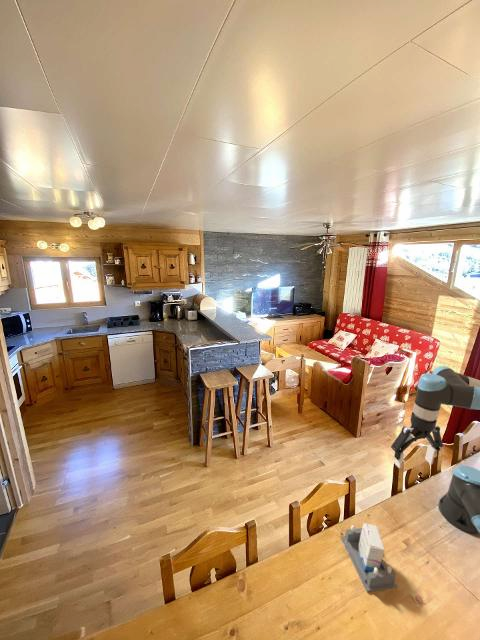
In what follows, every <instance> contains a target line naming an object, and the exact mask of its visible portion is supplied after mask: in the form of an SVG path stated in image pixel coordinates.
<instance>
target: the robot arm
mask: <svg viewBox="0 0 480 640" xmlns="http://www.w3.org/2000/svg"><path fill="white" fill-rule="evenodd" d="M442 405H443V406H444V405H446V406H452V407H458V408H463V409H467V410H468V409H469V410H476V411H477V410H480V380H479V379H477V378H474V377H471V376H467V375H465V374H462V373H459V372H456V371H455V370H454V369H452V368H450V367H449V366H444V365H440V366H437V367H436V368H435V369H433V370H432V372H431V373H429V372H428V373H427V372H425V373H423V374H421V375H420V376H419V380H418V383H417V388H416V393H415V398H414V403H413V407H412V412H411V415H410V422H411V425H410V427H407V426H405V425H403V426H402V429H401V431H400V433H399V434H398V436H397V437H396V438H395V440H394V441H393V443H392V444H391V446H390V448H391V449H392V450H393V451H394V455H393V456H394V461H393V464H394V465H395V466H396V467H397V468H398V469H402V465H403V461H404V455H405V453H404V452H405V450H407V449H408V448H409V447H410V446H411V445H412V444H413V443H414V442H417V441H418V440H421V439H425V440H427V442H428V443H429V444H428V445H427V449H426V454H425V457H424V460H425V461H426V462H427V463H428V464H430V465H433V463H434V461H435V460H434V459H435V457H436V454H437V452H440V451H441V448H443V447H444V444H443V439H442V437H441V427H440V426H438V424H437V422H438V418H439V414H440V410H441V406H442ZM431 433H432V434H431ZM438 510H439V512H440V514H441V515H442V517H443V518H444V519H445V520H446V521H448V523H450V524H451V525H452V526H454V527H456V528H457V529H459V530H460V531H463V532H465V533H468V534H472V535H478V534H480V470H479V469H477V468H476V467H475V468H474V467H473V466H468V465H464V464H463V465H462V464H460V465H457V466H455V468H454V470H453V472H452V477H451V480H450V483H449V487H448V490H447V492H446V493H445V494H444V495H443V496H442V497H441V498H440V499H439V502H438Z"/></svg>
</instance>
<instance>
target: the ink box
mask: <svg viewBox="0 0 480 640" xmlns="http://www.w3.org/2000/svg"><path fill="white" fill-rule="evenodd" d="M361 528H362V531H361V535H360V540H359V544H358V549H359V553H360V557H361V561H362V564H363V568H364V571H365V572H374V568H375V567H376V568H378V571H379V568H380V564H381V561H382V559H383V558H384V552H385V547H384V544H383V541H382V538H381V536H380V532H379V529H378V526H377V525H374V524H369V523H366V522H365V523H362V527H361Z"/></svg>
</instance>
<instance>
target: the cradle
mask: <svg viewBox="0 0 480 640" xmlns="http://www.w3.org/2000/svg"><path fill="white" fill-rule="evenodd" d="M355 527H356V526H355V525H353V524H352V525H351V526H350V528H349V529H346V530H345V533H344V534H345V535H344V536H341V537H340V539H341V542H342V543H343V546H344V547H345V549H346V551H347V553H348V557H349V558H350V559H351V562H352V564H353V566H354V568H355V570H356V572H357V574H358V576H359V578H360V580H361V584H363V587H364V589H365V591H366V593H372V592H379V591H383V590H389V589H395V588H398V584H397V583H396V581H395V579H396V573H395V571H394V569H393V567H392V566H391V565H390V564H389V565H387V564H386V563H385V561H384V559H383V558H382V561H381V564H380V568H379V571H378V568H376V567H375V568H374V572H365V571H364V568H363V564H362V561H361V557H360V553H359V549H358V544H359V540H360V535H361V531H362V527H359V528H358V527H356V528H355Z"/></svg>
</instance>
